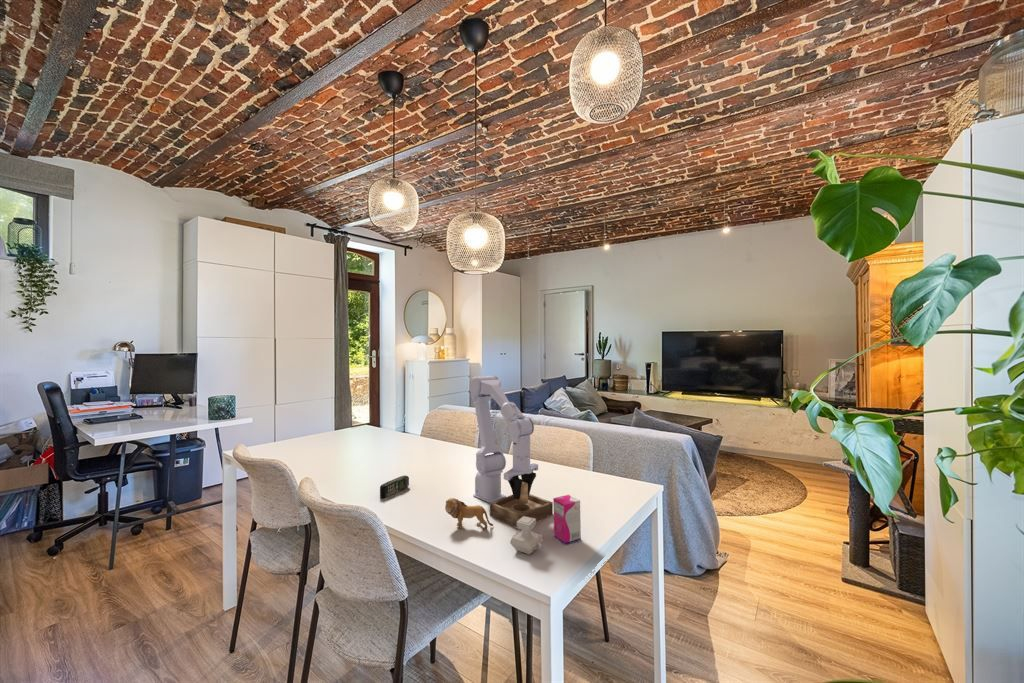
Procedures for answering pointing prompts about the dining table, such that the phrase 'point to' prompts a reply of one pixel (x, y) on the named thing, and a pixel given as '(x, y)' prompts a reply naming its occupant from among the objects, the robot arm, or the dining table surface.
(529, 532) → the stamp
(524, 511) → the walnut box
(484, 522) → the tan animal figurine
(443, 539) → the dining table surface
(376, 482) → the dining table surface
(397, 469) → the dining table surface
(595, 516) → the dining table surface
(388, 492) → the mobile phone
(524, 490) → the oak dowel
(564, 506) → the supplement box
